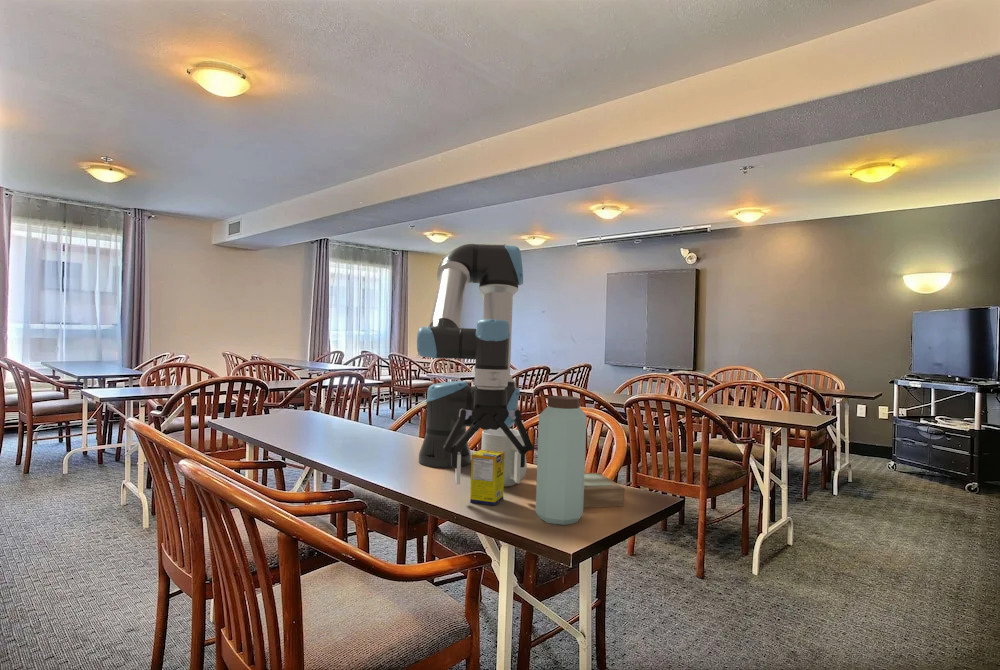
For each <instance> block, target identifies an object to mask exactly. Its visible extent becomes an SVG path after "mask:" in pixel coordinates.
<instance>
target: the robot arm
mask: <svg viewBox="0 0 1000 670" xmlns="http://www.w3.org/2000/svg"><path fill="white" fill-rule="evenodd" d="M523 272H524V271H523V259H522V254H521V250H520V248H519V247H518V246H517V245H506V244H486V243H485V244H484V243H483V244H481V243H479V244H477V243H468V244H467V243H466V244H463V245H460V246H458V247H456V248H454V249H452V250H451V251H450V252H448V253H447V254H446V255H445V256H444V257H443V259H442V260H441V261H440V263H439V265H438V268H437V272H436V278H437V281H438V285H437V290H436V292H435V293H436V294H435V298H434V303H433V307H432V311H431V317H430V320H429V324H428V325H427V326H421V327H419V329H418V331H417V336H416V351H417V354H418V356H419V357H421V358H430V359H450V360H451V359H452V360H453V359H454V360H455V359H456V360H460V359H461V360H475V365H474V384H473V385H474V386H470V385H469V383H468V381H467V380H455V381H452V380H451V381H445V382H438V383H432V384H431V385H429V387H428V388H427V395H426V400H425V402H426V414H425V415H426V417H425V418H426V420H425V436H424V438H423V441H422V444H421V446H420V450H419V453H418V463H419V464H421V465H423V466H427V467H430V468H431V467H432V468H452V469H455V471H454V473H455V475H454V482H455V484H456V485H461V469H462V467H465V466H467V465H471V458H472V454H471V450H470V447H469V443H468V441H469V440H470V439H471V438H472V437H473V436H474V435H475V433H476V432H478V431H479V430H480V429H481V430H482V431H483V430H488V429H493V430H497V429H499V428H501V429H502V430H503V432H504V433H505V434H506V435H507V437H508V438H509V439H510V441H511V442H512V443H513V444H514V446H515V447H516V448H517V449H518V452H515V460H514V481H515V482H516V483H515V484H520V483H521V480H520V467H524V466H525V456H526V454H527V453H528V452H530V451H534V445H533V444H532V441H531V439H530V436H529V434H528V432H527V430H526V428H525V425H524V423H523V420H522V413H521V411H520V410H519V409H518V407H519V405H518V403H519V399H520V398H519V397H520V392H521V391H520V388H519V387H517V386H516V381H515V379H513V378H512V377H511V361H512V360H511V357H512V334H513V333H512V332H513V331H512V328H513V304H514V303H513V297H514V295H515V294H516V293H517V292H518V291H519V286H521V285H524V273H523ZM470 283H471V284H479V287H478V288H479V290H480V292H482V294H483V313H482V319H479V320H478V321H477V323H476V328H464V327H460V325H461V318H462V311H463V306H464V305H463V303H464V298H465V290H466V287H467V286H468V284H470ZM514 424H515V426H516V428H517V429H516V430H518V431H519V433H520V435H521V438H522V440H523V442H524V444H525V445H524V446H522V445H521V443H520V442H519V441H518V440H517V438H516V437H515V436H514V434H513V433H512V432H511V431H510V429H511V427H513V425H514ZM467 427H469V428H467Z"/></svg>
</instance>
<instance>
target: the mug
mask: <svg viewBox="0 0 1000 670" xmlns="http://www.w3.org/2000/svg"><path fill="white" fill-rule="evenodd" d="M509 429H510V431H511V432H512V433H513V434H514V436H515V437H516V438H517V440H518V441H519V442H520V443H521V445H522V446H524V445H525V444H524V442H523V440H522V438H521V435H520V433H519V431H518V429H515V428H509ZM481 449H482V450H491V451H500V452H504V488H505V487H513V486H514V485H516V484H517V483H516V482H515V481H514V460H515V452H518V449H517V448H516V447H515V446H514V444H513V443H512V442H511V441H510V439H509V438H508V437H507V435H506V434H505V433H504V432H503V430H502V429H501V428H499V429H497V430H493V429H488V430H483V429H482V432H481V448H480V450H481ZM527 466H528V465H527V457H526V455H525V466H524V467H520V481H521V480H522V479H523V478H525V476H526V473H527Z"/></svg>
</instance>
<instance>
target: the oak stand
mask: <svg viewBox="0 0 1000 670" xmlns="http://www.w3.org/2000/svg"><path fill="white" fill-rule="evenodd" d="M624 501H625V487H624V486H622V485H620V484H618V483H617V482H615V481H613V480H612V479H610V478H609V477H608V476H606V475H604V474H602V473H601V472H585V475H584V503H583V509H584V508H610V507H612V508H613V507H624V506H625V502H624Z"/></svg>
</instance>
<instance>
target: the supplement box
mask: <svg viewBox="0 0 1000 670" xmlns="http://www.w3.org/2000/svg"><path fill="white" fill-rule="evenodd" d="M470 469H471V470H470V495H469V496H470V497H469V498H470V499H469V500H470V501H469V502H470V503H474V504H481V505H489V506H496V505H497V504H499V502H501V501H502V500H503V499H504V489H505V487H504V452H500V451H491V450H482V449H481V448H480V450H476V451H475V452H473V453H472V454H471V463H470Z"/></svg>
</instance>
